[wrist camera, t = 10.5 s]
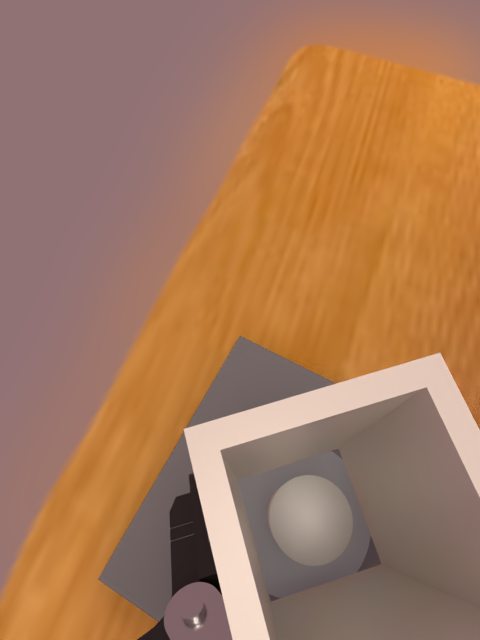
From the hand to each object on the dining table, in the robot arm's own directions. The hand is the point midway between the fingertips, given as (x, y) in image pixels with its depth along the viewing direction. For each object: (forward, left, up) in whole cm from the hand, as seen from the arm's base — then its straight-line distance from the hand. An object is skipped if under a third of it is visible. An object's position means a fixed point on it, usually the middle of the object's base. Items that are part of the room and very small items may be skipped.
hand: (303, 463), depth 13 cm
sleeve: (+1, +1, -5) cm, 5 cm away
